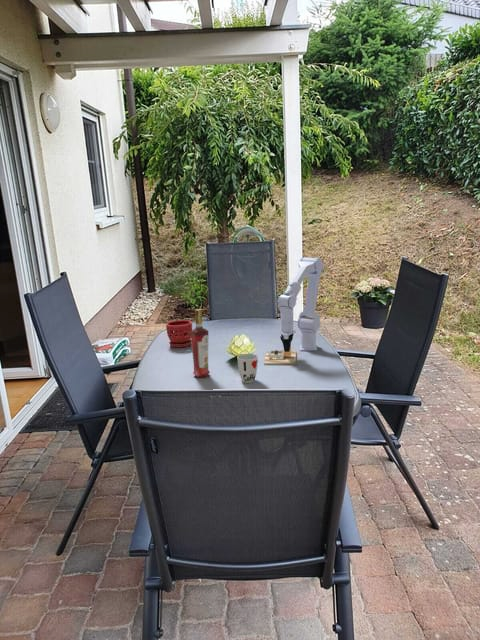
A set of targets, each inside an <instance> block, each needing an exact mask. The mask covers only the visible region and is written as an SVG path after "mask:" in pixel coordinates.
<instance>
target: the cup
mask: <svg viewBox="0 0 480 640" xmlns="http://www.w3.org/2000/svg"><path fill="white" fill-rule="evenodd" d="M236 358H237V367H238V373H239V376H240V379H241V382H242V383H248V384H249V383H254V382H255V381H256V377H257V371H258V361H259V360H258V359H259V356H258V355H257V354H255V353H242V354H239V355H237V357H236Z"/></svg>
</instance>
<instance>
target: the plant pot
mask: <svg viewBox="0 0 480 640" xmlns="http://www.w3.org/2000/svg"><path fill="white" fill-rule="evenodd" d="M165 329H166V335H167V338H168V339H169V345H170V346H171V347H173V348H185V347H189V346H190V345H192V344H191V333H190V332H191V331H192V330H193V323H192V321H191V320H172V321H169V322H166V324H165Z"/></svg>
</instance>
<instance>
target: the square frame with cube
mask: <svg viewBox="0 0 480 640" xmlns="http://www.w3.org/2000/svg"><path fill="white" fill-rule="evenodd" d="M268 351H269V354H268V358H280V357H284V356H291V351H292V343H291V344H290V350H289V352H285V351H284V349H283V350H277V351H278V353H282V354H274V351H275V350H268Z"/></svg>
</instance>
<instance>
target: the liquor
mask: <svg viewBox="0 0 480 640" xmlns="http://www.w3.org/2000/svg"><path fill="white" fill-rule="evenodd" d="M194 312H195V315H194V316H195V328H192V331H191V332H190V333H191V339H190V340H191V344H190V345H191V349H192V350H191V351H192V359H193V372H192V373H193V375H194V376H195V377H197V378H205V377H207V376H208V375H209V374H210V373H211V372H210V370H209V330H208V329H206V328H204V327H203V319H202V317H203V316H202V314H203V310H202V309H201V308H198V309H197V308H196V309H195V310H194Z"/></svg>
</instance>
